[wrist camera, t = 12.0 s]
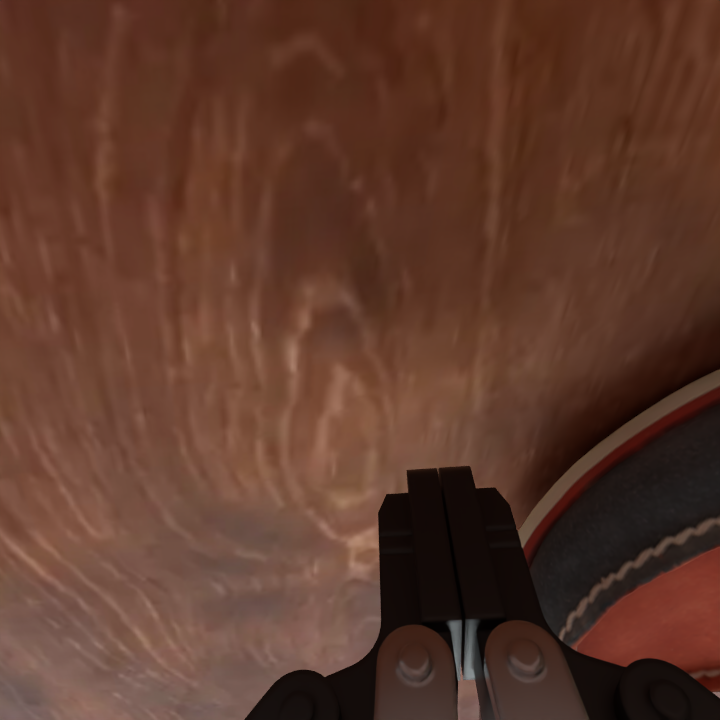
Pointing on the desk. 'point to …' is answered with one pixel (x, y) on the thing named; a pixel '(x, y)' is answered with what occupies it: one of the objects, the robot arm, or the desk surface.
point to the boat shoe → (638, 540)
